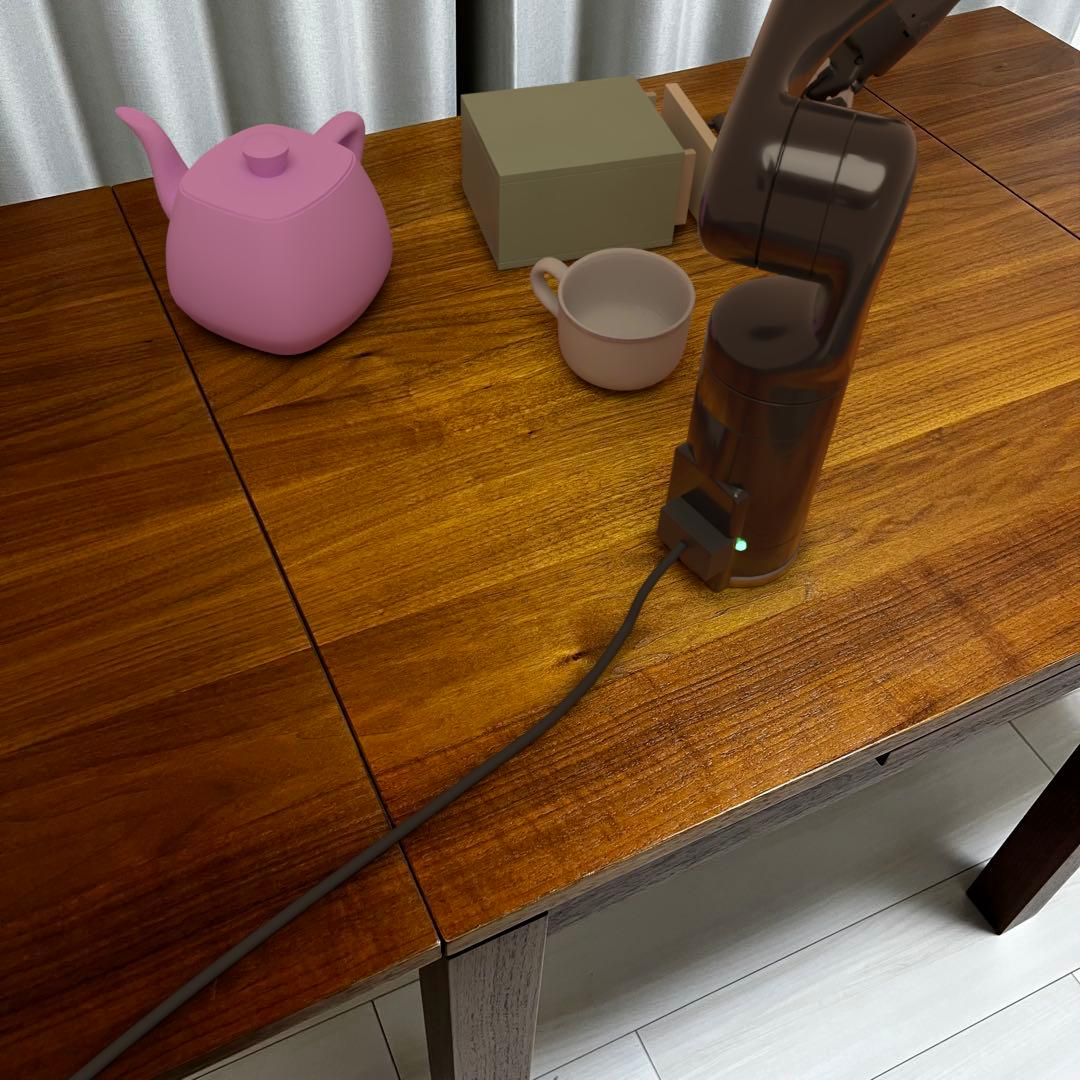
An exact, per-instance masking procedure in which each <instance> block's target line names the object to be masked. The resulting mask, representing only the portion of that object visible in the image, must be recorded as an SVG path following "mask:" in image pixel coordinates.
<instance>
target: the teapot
mask: <svg viewBox="0 0 1080 1080" xmlns="http://www.w3.org/2000/svg"><path fill="white" fill-rule="evenodd" d="M115 114H116V115H117V117H118V118H119V119H120V120H121V121H122V122H123V123H124V124H125V125H126V126H127V127H129V129H130V130H132V132H133V133H134V134H135V135H136V137H137V139H138V140H139V141H140V142H141V145H142V147H143V149H144V151H145V153H146V156H147V160H148V162H149V165H150V170H151V173H152V177H153V183H154V187H155V190H156V194H157V197H158V200H159V203H160V206H161V208H162V210H163V212H164V213H165V215H166V218H167V219H168V220H169V223H168V227H167V233H166V240H165V242H166V243H165V267H166V277H167V283H168V287H169V293H170V295H171V297H172V298H173V300H174V302H175V304H176V305H177V307H178V308H179V309H181V310H182V311H183V312H184V314H186V315H187V316H188V317H189V318H190V319H191V320H192V321H194V322H195V323H196V324H198V325H199V326H201V327H202V328H205V330H208V331H210V332H212V333H214V334H216V335H219V336H221V337H222V338H225V339H228V340H230V341H232V342H235V343H237V344H240V345H243V346H246V347H249V348H252V349H255V350H258V351H262V352H266V353H270V354H275V355H279V356H281V355H283V356H289V355H290V356H291V355H292V356H293V355H298V354H303V353H307V352H309V351H312V350H314V349H316V348H318V347H320V346H321V345H323V344H325V343H327V342H329V341H331V340H332V339H333V338H335V337H336V336H338V335H340V334H341V333H343V332H344V331H345V330H346V329H348V328H349V327H350V326H351V325H352V324H354V323H355V322H356V321H357V320H358V319H359V318H360V317H361V316H362V314H363V313H365V312H366V310H367V309H368V307H369V306H370V304H371V303H372V302H373V300H374V299H375V297H376V296H377V294H378V292H379V291H380V289H381V288H382V286H383V284H384V282H385V281H386V278H387V276H388V274H389V272H390V269H391V265H392V261H393V257H394V256H393V255H394V246H393V238H392V232H391V228H390V225H389V220H388V218H387V217H388V216H387V214H386V211H385V209H384V206H383V204H382V200H381V198H380V196H379V194H378V192H377V190H376V188H375V186H374V184H373V182H372V180H371V179H370V177H369V175H368V174H367V172H366V170H365V168H364V167H363V164H362V159H363V154H364V150H365V142H366V124H365V121H364V118H363V117H362V115H360V113H358V112H355V111H350V110H346V111H342V112H340V113H337V114H336V115H334V116H332V117H331V118H330V119H329V120H327V121H325V123H324V124H323V125H322V126H320V128H319V129H317V131H316V132H315V133H310V132H308V131H304V130H301V129H297V128H293V127H290V126H285V125H281V124H273V123H263V124H257V125H254V126H250V127H248V128H245V129H242V130H241V131H239V132H237V133H234V134H232V135H230V136H229V137H226V138H225V139H224V140H222V141H220V142H218V143H217V144H215V145H214V146H212V147H211V148H210V149H208V150H207V151H206V152H205V153H204V154H202V155H201V156H200V157H199V158H198V159H197V160H196V161H195V162H194V163H193V164H192V165H191V166H190V167H188V166H187V164H186V163H185V161H184V160H183V158H182V156H181V155H180V153H179V152H178V150H177V148H176V147H175V145H174V143H173V142H172V140H171V139H170V137H169V136H168V134H167V133H166V131H165V130H164V129H163V128H162V126H160V124H159V123H158V122H157V121H156V120H155V119H153V117H151V116H150V115H148V114H146V113H145V112H142V111H140V110H139V109H135V108H132V107H129V106H118V107H116V108H115Z"/></svg>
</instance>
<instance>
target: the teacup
mask: <svg viewBox="0 0 1080 1080" xmlns="http://www.w3.org/2000/svg"><path fill="white" fill-rule="evenodd" d="M545 273H547V274H549V275H551V276H552V277H554V278H555V280H556V281H557V283H558V284H557V285H558V286H557V293H555V292H554V291H553V290H552V289H551V287H550V286H549V284H548V282H547V280H546V278H545ZM529 285H530V288H531V289H532V292H533V294H534V296H535V297H536V299H537V300H538V302H539V303H541V304H542V306H544V308H545V309H546V310H547V311H548V312H550V313H551V314H552V315H553V316H554V318H556V320H557V337H558V344H559V349H560V352H561V356H562V357H563V359H564V361H565V363H566V364H567V366H568V367H569V368H570V369H571V370H572V372H574V373H575V374H576V375H577V376H578V377H580V378H581V379H582V380H584V381H585V382H588V383H589V384H591V385H594V386H596V387H598V388H601V389H607V390H610V391H611V390H612V391H635V390H636V391H637V390H641V389H645V388H647V387H650V386H653V385H656V384H658V383H659V382H661V381H662V380H664V379H666V378H667V377H668V376H670V374H671V373H672V372H673V371H674V369H676V368H677V366H678V364H679V363H680V361H681V359H682V357H683V355H684V351H685V349H686V344H687V341H688V336H689V331H690V326H691V320H692V314H693V311H694V309H695V306H696V290H695V287H694V284H693V282H692V280H691V278H690V277H689V275H688V274H687V272H686V271H684V269H682V267H681V266H680V265H678V264H677V263H676V262H674V261H673V260H671V259H669V258H667V257H666V256H663V255H662V254H659V253H656V252H653V251H648V250H646V249H634V248H611V249H605V250H601V251H597V252H594V253H591V254H588V255H586V256H584V257H583V258H580V259H577V260H576V261H574V262H573V263H572V264H571V265H569V266H568V265H566V263H564V261H560V260H558V259H556V258H552V257H547V258H543V259H541V260H539V261H538V262H537V263H536V264H535V265H533V267H532V268H531V271H530V274H529Z"/></svg>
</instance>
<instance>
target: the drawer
mask: <svg viewBox="0 0 1080 1080" xmlns="http://www.w3.org/2000/svg"><path fill="white" fill-rule="evenodd" d="M644 92H645V93H646V95H647V96H648V98H649V99H650V101H651V102H652V104H653V105H654V107H655V108H656V104H657V97H658V95H657V93H656V92H655V90H653V91H644ZM662 98H663V99H662V106H661V114H660V115H661V117H662V118H663V120H664V121H665V123H666V124H667V126H668V127H669V129H670V130H671V132H672V133H673V135H674V136H675V138H676V139H677V141H678V142H679V144H680V145H681V147H682V148H683V150H684V151H685V156H684V162H683V169H682V176H681V183H680V190H679V197H678V204H677V211H676V218H675V225H674V226H680V225H686V224H687V219H688V210H689V211H690V213H691V214H692V216H693V218H694V219H695V221H696V222H697V214H698V207H699V198H700V194H701V189H702V185H703V181H704V177H705V173H706V170H707V167H708V163H709V160H710V157H711V154H712V151H713V149H714V146H715V143H716V141H717V138H718V137H716V135H717V136H718V135H719V133H720V130H721V127H722V125H723V122H724V119H725V117H726V115H724V114H721V113H719V114H716V115H714V116H713V117H712V118H711V120H704V119H703V117H702V116H701V114H699V112H698V110H697V109H696V107H694V105H693V104H692V102H691V101H690V99H689V98H688V97H687V95H686V93H685V92H684V91H683V89H682V88H681V87H680V85H679V84H678V83H677V82H671V83H670V82H669V83H664V91H663V96H662ZM712 130H714V132H715V133H716V135H715V134H714V133H713V132H712Z"/></svg>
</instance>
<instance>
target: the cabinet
mask: <svg viewBox="0 0 1080 1080" xmlns="http://www.w3.org/2000/svg"><path fill="white" fill-rule="evenodd" d="M645 92H646V91H645V90H644V89H643V87H642V85H640V83H639V81H638V80H637V78H636V77H635V75H634V74H633V75H632V74H631V75H624V76H623V75H622V76H613V77H605V78H604V77H603V78H598V79H597V78H596V79H587V80H579V81H571V82H570V81H569V82H562V83H552V84H544V85H536V86H534V85H533V86H527V87H526V86H525V87H517V88H508V89H500V90H492V91H483V92H482V91H481V92H475V93H464V94H461V95H460V120H461V121H460V126H461V127H460V128H461V129H460V130H461V132H460V133H461V134H460V135H461V181H462V182H461V188H462V190H463V192H464V195H465V197H466V199H467V202H468V204H469V206H470V208H471V211H472V213H473V216H474V217H475V220H476V222H477V224H478V226H479V229H480V231H481V233H482V236H483V238H484V240H485V242H486V245H487V247H488V250H489V251H490V254H491V256H492V258H493V261H494V263H495V265H496V267H497V270H498V271H503V270H504V271H505V270H511V269H518V268H524V267H532V266H534V265H535V264H536V263H537V262H538V261H539V260H541V259H543V258H547V257H552V258H556V259H558V260H560V261H561V262H566V261H572V260H579V259H581V258H583V257H584V256H586V255H588V254H591V253H594V252H597V251H601V250H605V249H611V248H634V249H641V250H647V249H654V248H661V247H669V246H672V244H673V238H674V233H675V226H676V225H675V218H676V211H677V204H678V197H679V190H680V183H681V176H682V169H683V162H684V156H685V151H684V150H683V148H682V147H681V145H680V144H679V142H678V141H677V139H676V138H675V136H674V135H673V133H672V132H671V130H670V129H669V127H668V126H667V124H666V123H665V121H664V120H663V118H662V117H661V114H660V113H659V111H658V109H657V108H656V106H655V107H654V105H653V104H652V102H651V101H650V99H649V98H648V96H647V95H646V93H645Z"/></svg>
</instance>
